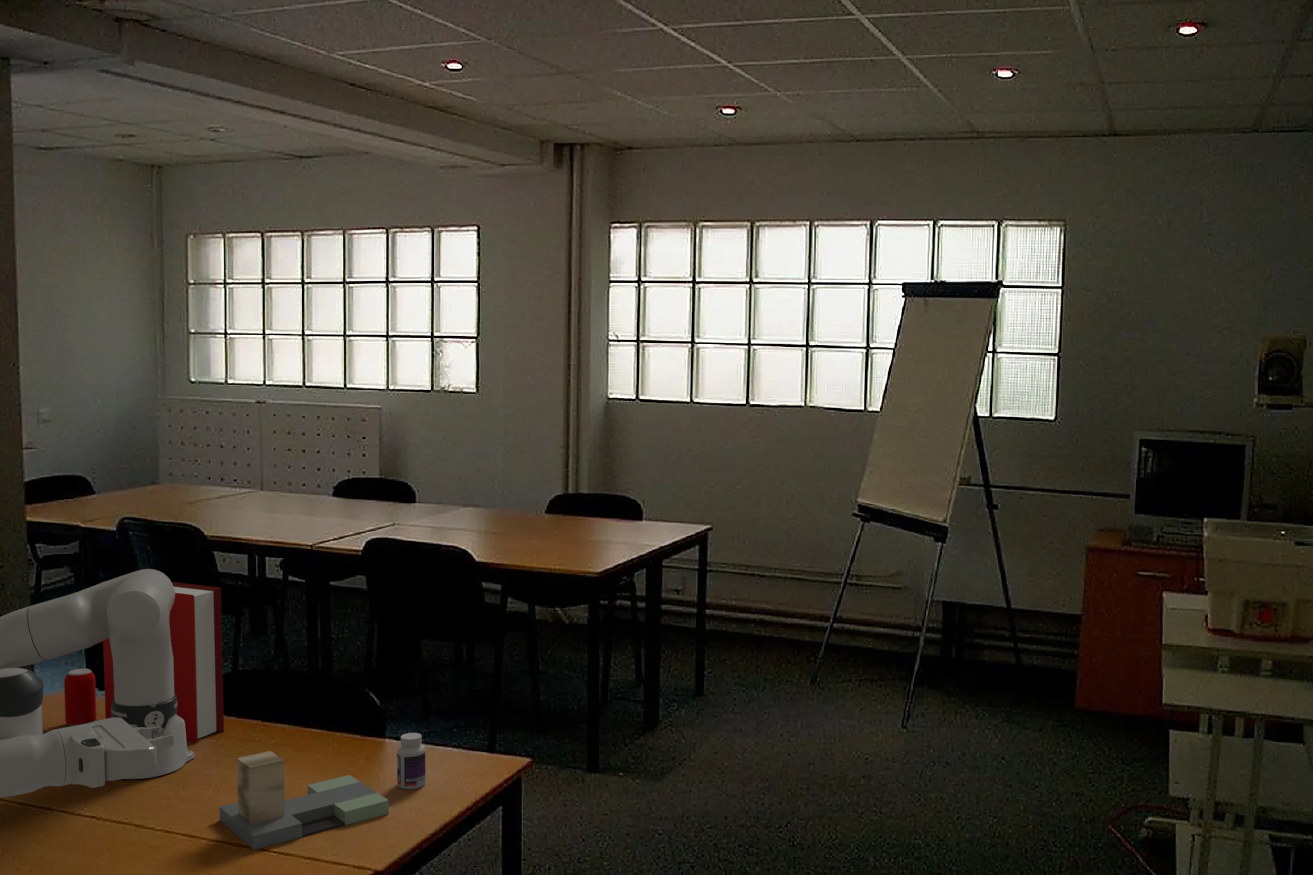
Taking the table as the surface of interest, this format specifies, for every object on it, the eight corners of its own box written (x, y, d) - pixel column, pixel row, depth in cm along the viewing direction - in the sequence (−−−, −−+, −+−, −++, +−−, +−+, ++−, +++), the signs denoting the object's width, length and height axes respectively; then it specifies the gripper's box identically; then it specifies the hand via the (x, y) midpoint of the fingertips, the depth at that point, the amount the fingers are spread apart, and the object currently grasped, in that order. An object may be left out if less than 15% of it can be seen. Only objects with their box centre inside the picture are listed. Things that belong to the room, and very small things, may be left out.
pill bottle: (431, 782, 234) (430, 733, 233) (414, 792, 229) (414, 742, 228) (408, 778, 236) (408, 729, 236) (391, 787, 232) (391, 738, 231)
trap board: (219, 820, 215) (219, 806, 215) (349, 787, 231) (349, 775, 231) (254, 850, 203) (253, 835, 203) (388, 813, 219) (388, 800, 219)
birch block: (238, 813, 212) (237, 758, 211) (271, 805, 216) (270, 750, 215) (251, 824, 207) (250, 767, 207) (284, 815, 211) (283, 760, 210)
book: (223, 732, 262) (220, 587, 260) (196, 743, 255) (193, 594, 252) (129, 715, 273) (125, 576, 270) (101, 726, 265) (96, 583, 263)
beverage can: (101, 724, 266) (99, 671, 265) (72, 730, 262) (70, 677, 261) (90, 718, 271) (88, 665, 270) (61, 724, 266) (59, 671, 265)
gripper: (62, 754, 200) (148, 737, 208) (97, 791, 184) (188, 771, 193) (60, 717, 199) (147, 701, 208) (95, 751, 183) (188, 733, 192)
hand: (167, 735), depth 200 cm, fingers open, 3 cm apart
